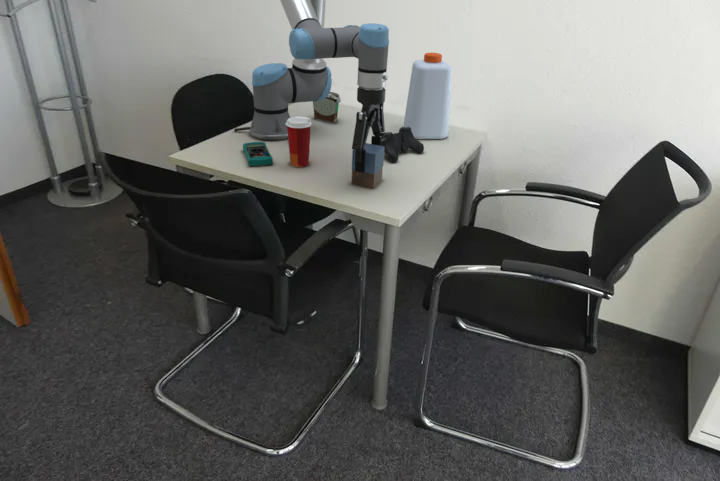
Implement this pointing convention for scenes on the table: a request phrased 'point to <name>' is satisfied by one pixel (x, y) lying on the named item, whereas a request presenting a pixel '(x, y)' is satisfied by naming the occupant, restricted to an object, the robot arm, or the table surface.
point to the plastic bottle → (429, 98)
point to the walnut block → (367, 179)
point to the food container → (327, 108)
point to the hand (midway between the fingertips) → (367, 164)
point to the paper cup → (299, 140)
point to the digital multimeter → (257, 154)
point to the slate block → (371, 158)
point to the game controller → (400, 143)
